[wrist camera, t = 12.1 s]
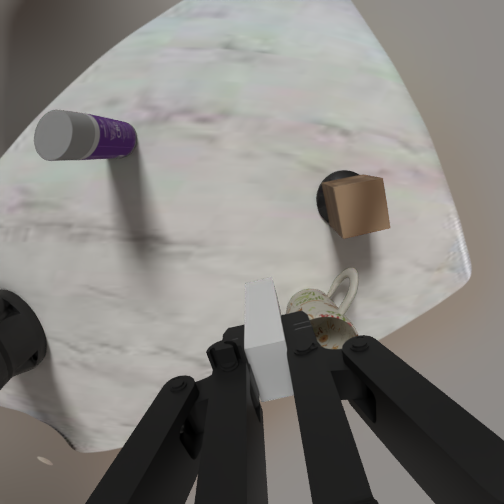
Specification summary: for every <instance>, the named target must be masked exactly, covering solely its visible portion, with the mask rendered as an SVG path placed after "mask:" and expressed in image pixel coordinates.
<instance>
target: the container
mask: <svg viewBox="0 0 504 504" xmlns="http://www.w3.org/2000/svg"><path fill="white" fill-rule="evenodd" d="M136 143H137V134H136V131H135V129H134V128H133V126H132V125H130V124H129V123H126V122H122V121H118V120H113V119H109V118H105V117H100V116H95V115H91V114H86V113H78V112H71V111H64V110H52V111H50V112H48V113H46V114H45V115H44V116H43V117H42V118H41V119H40V121H39V122H38V124H37V127H36V130H35V134H34V144H35V148H36V151H37V153H38V154H39V155H40V156H41V157H42V158H43V159H45V160H48V161H56V160H90V159H110V158H123V157H126V156H128V155H129V154H130V153H131V152H132V151H133V150H134V148H135V146H136Z"/></svg>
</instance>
